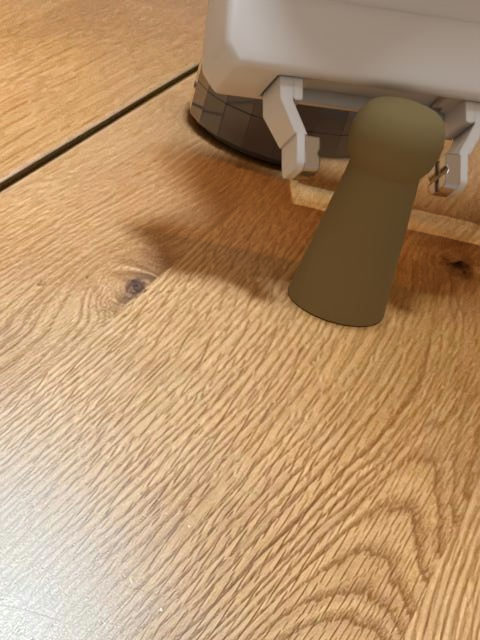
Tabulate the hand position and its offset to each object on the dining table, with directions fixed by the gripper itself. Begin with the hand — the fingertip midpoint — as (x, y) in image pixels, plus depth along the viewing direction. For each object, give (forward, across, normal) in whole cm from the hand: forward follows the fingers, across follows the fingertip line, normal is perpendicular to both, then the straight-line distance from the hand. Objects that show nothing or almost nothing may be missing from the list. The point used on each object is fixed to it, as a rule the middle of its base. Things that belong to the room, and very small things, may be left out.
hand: (375, 184), depth 72 cm
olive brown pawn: (+5, 0, +5) cm, 7 cm away
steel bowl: (-14, +6, +24) cm, 29 cm away
